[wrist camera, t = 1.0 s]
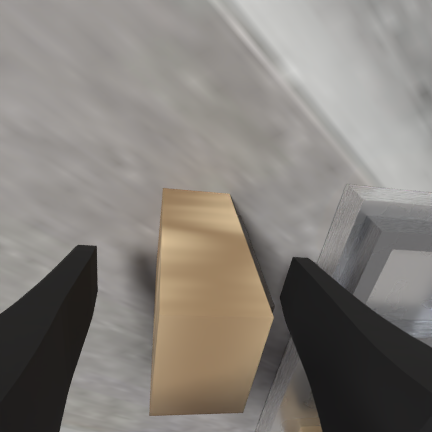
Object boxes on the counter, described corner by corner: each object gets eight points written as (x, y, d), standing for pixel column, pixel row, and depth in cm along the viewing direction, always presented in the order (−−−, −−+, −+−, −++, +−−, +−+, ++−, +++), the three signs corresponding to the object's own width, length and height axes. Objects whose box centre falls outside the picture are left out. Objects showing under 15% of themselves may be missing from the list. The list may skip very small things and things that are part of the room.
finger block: (156, 265, 16) (149, 415, 10) (163, 188, 14) (159, 315, 8) (221, 268, 16) (252, 412, 10) (236, 194, 14) (285, 317, 8)
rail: (354, 432, 26) (372, 473, 23) (253, 437, 24) (262, 480, 22) (498, 199, 16) (553, 228, 14) (346, 184, 15) (379, 214, 12)
